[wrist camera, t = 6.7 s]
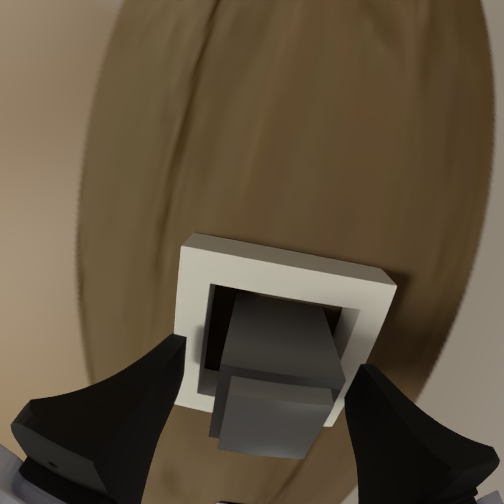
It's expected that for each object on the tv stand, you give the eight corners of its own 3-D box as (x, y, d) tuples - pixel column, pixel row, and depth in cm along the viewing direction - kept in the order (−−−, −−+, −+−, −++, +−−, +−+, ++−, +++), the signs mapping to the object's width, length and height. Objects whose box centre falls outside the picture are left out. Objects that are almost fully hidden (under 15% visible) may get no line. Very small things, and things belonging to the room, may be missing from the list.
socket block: (326, 401, 15) (331, 426, 13) (180, 379, 15) (171, 403, 13) (380, 268, 13) (397, 285, 11) (194, 232, 13) (181, 245, 11)
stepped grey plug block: (300, 370, 15) (310, 463, 9) (225, 359, 15) (205, 451, 9) (322, 306, 13) (350, 397, 8) (237, 291, 13) (216, 380, 8)
